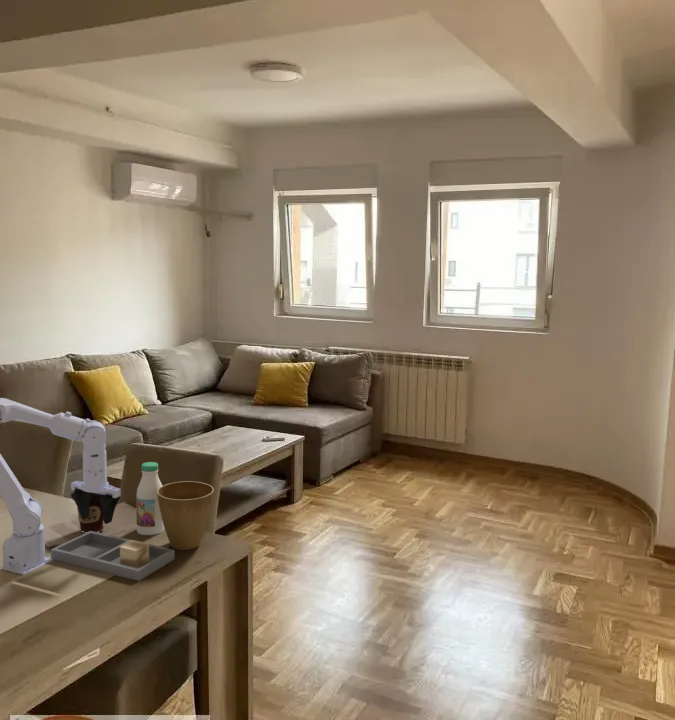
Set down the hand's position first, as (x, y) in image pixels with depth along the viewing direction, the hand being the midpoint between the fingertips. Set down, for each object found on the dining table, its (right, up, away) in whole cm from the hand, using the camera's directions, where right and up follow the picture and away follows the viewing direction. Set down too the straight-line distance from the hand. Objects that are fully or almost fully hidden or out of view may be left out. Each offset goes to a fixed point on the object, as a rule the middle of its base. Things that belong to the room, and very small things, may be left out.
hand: (96, 520), depth 181 cm
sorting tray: (+5, -10, -1) cm, 11 cm away
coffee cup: (-8, -8, +19) cm, 21 cm away
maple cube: (+11, -10, -4) cm, 16 cm away
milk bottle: (+9, -8, +19) cm, 22 cm away
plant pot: (+21, -10, +9) cm, 25 cm away
